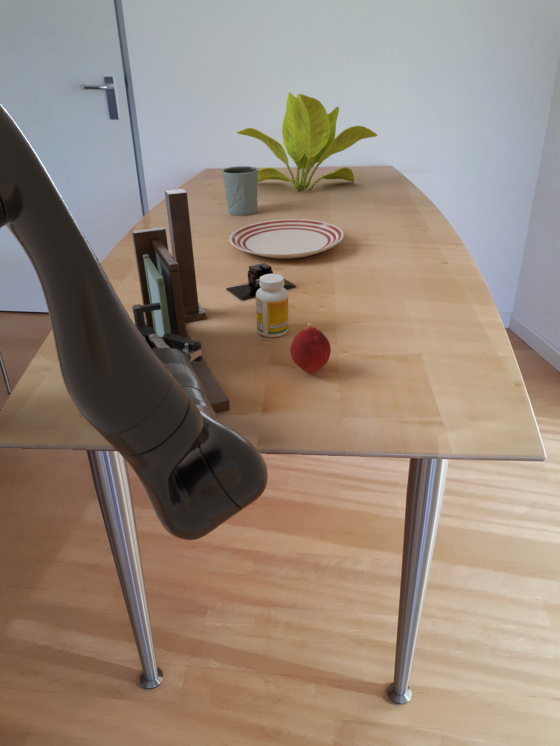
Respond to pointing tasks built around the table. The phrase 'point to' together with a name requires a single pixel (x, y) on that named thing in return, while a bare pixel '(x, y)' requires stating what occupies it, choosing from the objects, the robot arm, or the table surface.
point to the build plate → (254, 282)
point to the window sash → (154, 301)
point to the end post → (183, 252)
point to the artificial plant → (308, 141)
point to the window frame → (172, 302)
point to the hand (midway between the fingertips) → (142, 331)
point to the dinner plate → (287, 238)
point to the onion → (310, 349)
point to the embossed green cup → (241, 189)
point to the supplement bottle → (272, 306)
